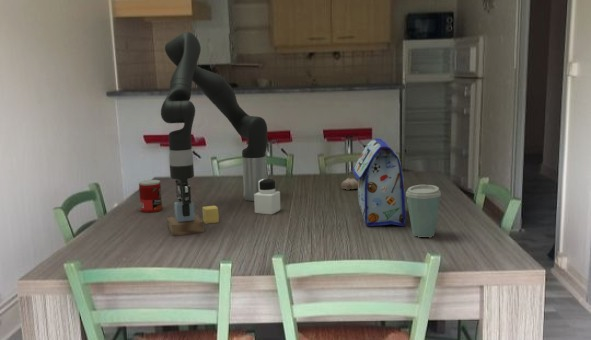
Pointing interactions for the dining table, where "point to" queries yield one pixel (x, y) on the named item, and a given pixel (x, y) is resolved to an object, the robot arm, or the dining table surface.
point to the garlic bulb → (350, 183)
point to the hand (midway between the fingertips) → (184, 213)
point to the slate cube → (179, 212)
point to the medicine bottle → (267, 197)
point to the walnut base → (185, 226)
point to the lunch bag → (380, 185)
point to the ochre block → (210, 214)
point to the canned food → (150, 195)
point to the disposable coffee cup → (423, 209)
